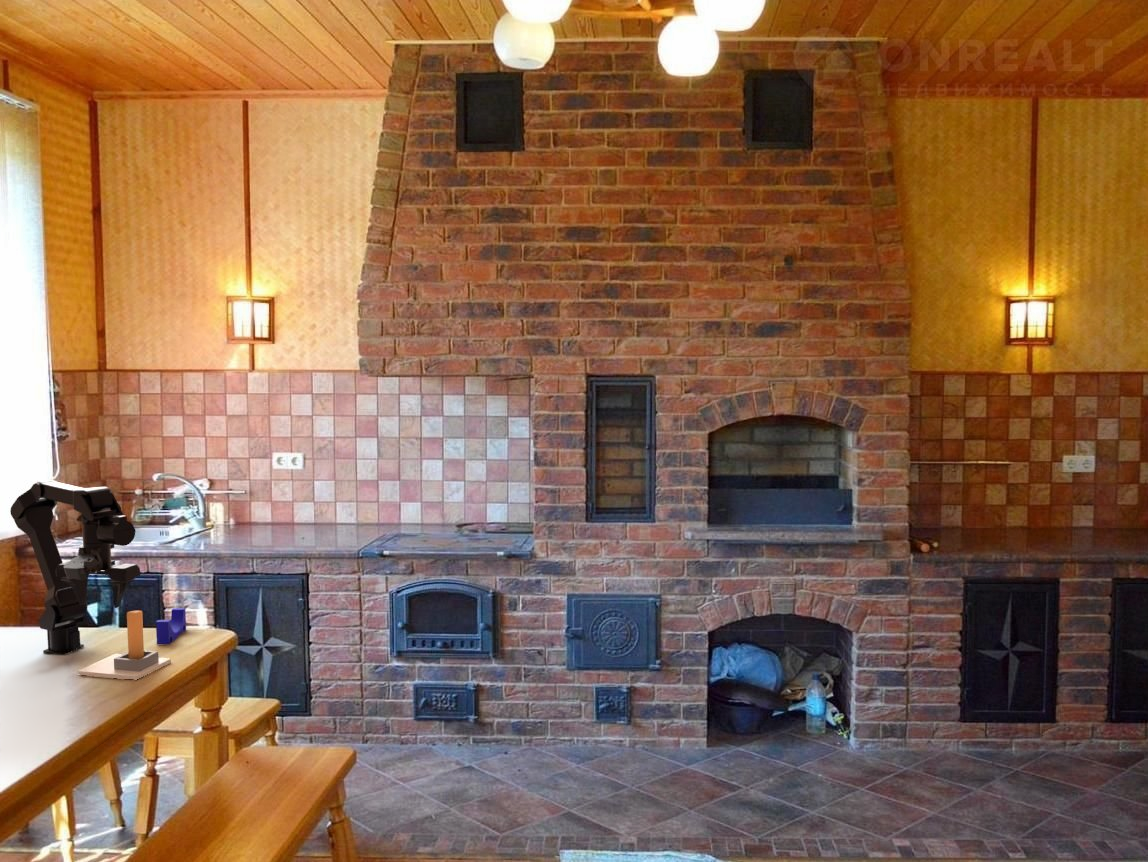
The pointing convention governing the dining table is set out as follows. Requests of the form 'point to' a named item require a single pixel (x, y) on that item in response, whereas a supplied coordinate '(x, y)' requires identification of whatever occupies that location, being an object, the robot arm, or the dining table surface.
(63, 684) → the dining table surface
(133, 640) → the toggle bar
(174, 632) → the cable clip
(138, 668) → the keeper plate
